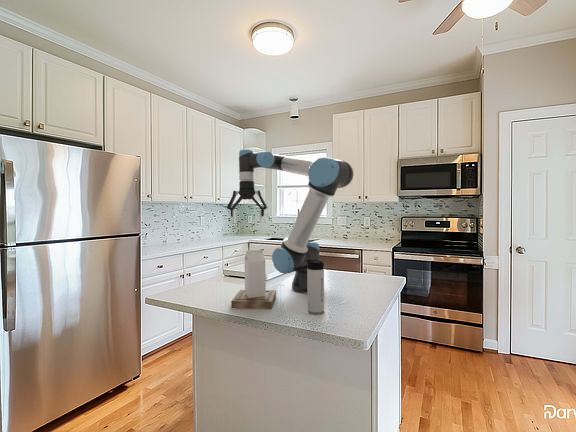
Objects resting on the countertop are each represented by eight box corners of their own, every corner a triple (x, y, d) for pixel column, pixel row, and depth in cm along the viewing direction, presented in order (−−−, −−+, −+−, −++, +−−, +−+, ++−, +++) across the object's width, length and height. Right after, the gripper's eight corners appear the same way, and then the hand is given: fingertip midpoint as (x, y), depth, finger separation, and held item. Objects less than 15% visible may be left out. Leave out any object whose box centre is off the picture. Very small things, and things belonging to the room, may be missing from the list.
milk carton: (265, 296, 127) (265, 250, 126) (248, 298, 124) (248, 251, 124) (261, 292, 134) (260, 248, 133) (245, 293, 131) (244, 249, 130)
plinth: (275, 296, 136) (275, 289, 136) (271, 309, 120) (271, 300, 120) (240, 296, 137) (240, 289, 137) (231, 308, 121) (231, 300, 121)
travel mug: (305, 309, 119) (305, 258, 119) (322, 309, 120) (322, 258, 119) (307, 315, 113) (307, 261, 112) (325, 314, 114) (325, 261, 113)
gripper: (272, 181, 158) (272, 222, 158) (224, 181, 159) (225, 222, 160) (270, 180, 150) (271, 223, 151) (220, 180, 152) (221, 223, 152)
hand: (247, 223), depth 155 cm, fingers open, 13 cm apart
